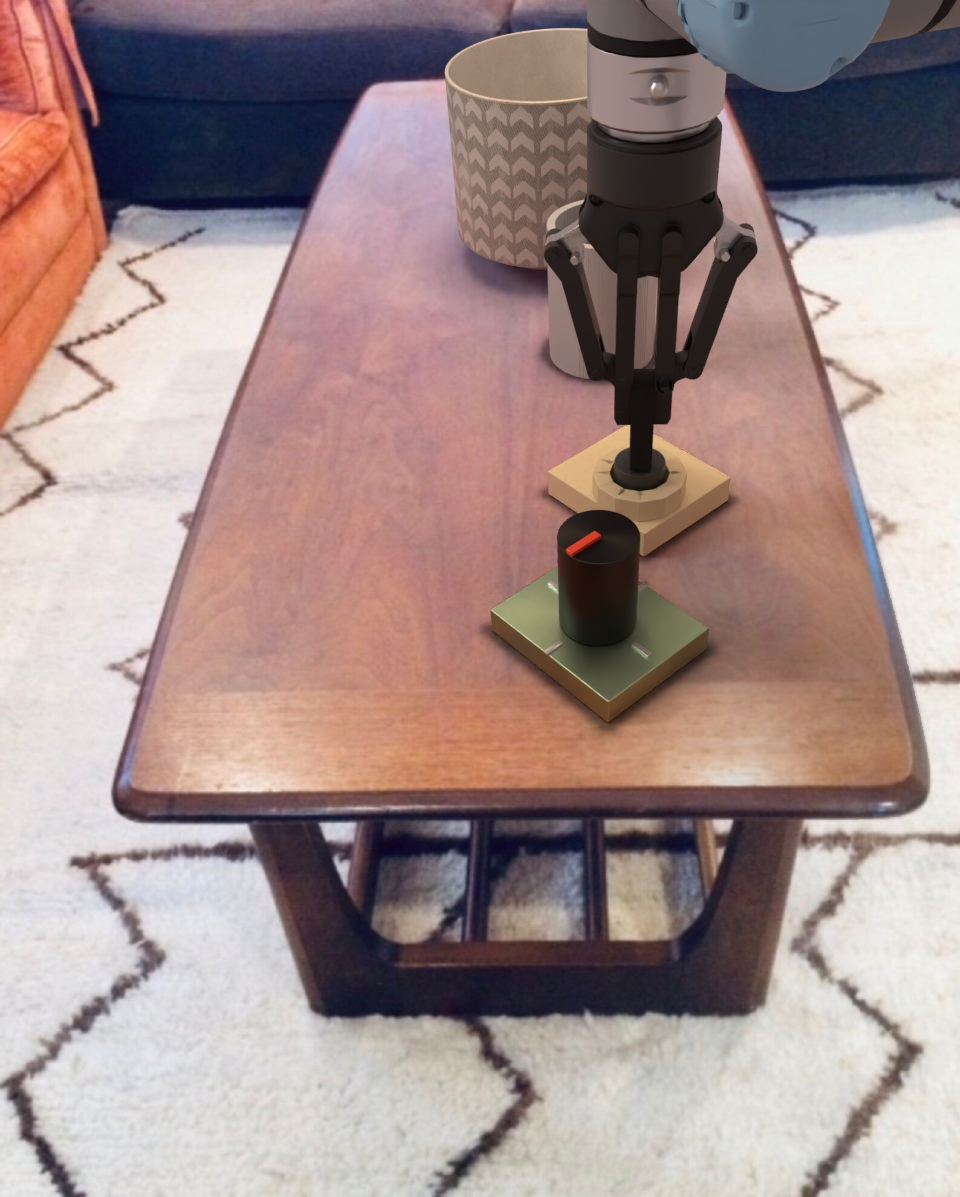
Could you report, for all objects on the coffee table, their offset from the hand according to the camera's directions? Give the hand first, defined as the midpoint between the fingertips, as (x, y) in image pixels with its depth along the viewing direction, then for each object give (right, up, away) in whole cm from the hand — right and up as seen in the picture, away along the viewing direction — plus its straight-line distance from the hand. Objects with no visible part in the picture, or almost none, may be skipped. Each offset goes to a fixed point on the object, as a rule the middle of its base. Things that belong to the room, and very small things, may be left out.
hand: (640, 458), depth 77 cm
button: (0, -1, +1) cm, 2 cm away
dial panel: (-4, -13, -5) cm, 14 cm away
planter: (-4, +25, +34) cm, 43 cm away
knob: (-4, -11, -7) cm, 13 cm away
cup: (0, +12, +20) cm, 24 cm away
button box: (+1, -2, +5) cm, 6 cm away
